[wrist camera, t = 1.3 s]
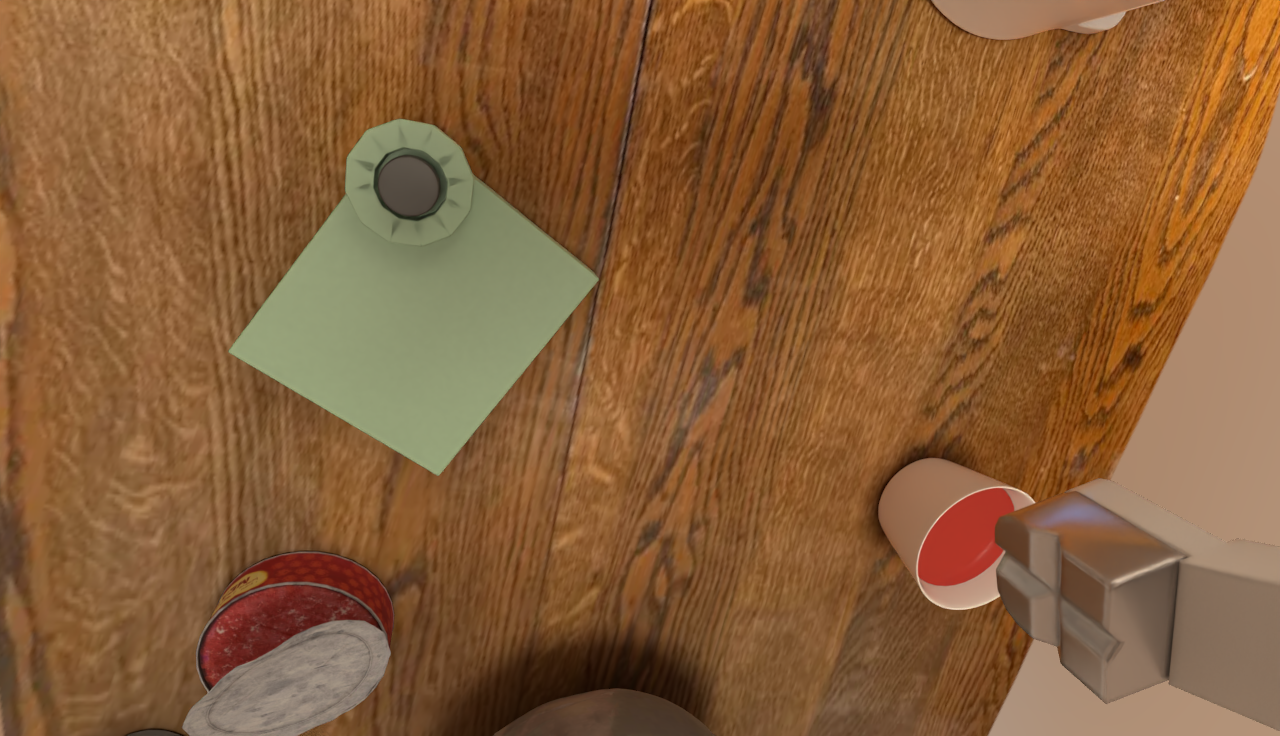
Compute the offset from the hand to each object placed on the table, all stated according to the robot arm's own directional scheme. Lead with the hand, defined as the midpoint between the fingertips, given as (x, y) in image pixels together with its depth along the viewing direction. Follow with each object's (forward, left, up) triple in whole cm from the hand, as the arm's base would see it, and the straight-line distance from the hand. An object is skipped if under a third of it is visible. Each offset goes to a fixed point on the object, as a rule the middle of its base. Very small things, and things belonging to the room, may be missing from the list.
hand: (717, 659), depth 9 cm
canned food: (+26, +3, -31) cm, 40 cm away
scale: (+6, -3, -30) cm, 31 cm away
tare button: (+1, -7, -27) cm, 28 cm away
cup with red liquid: (-3, +32, -31) cm, 45 cm away
